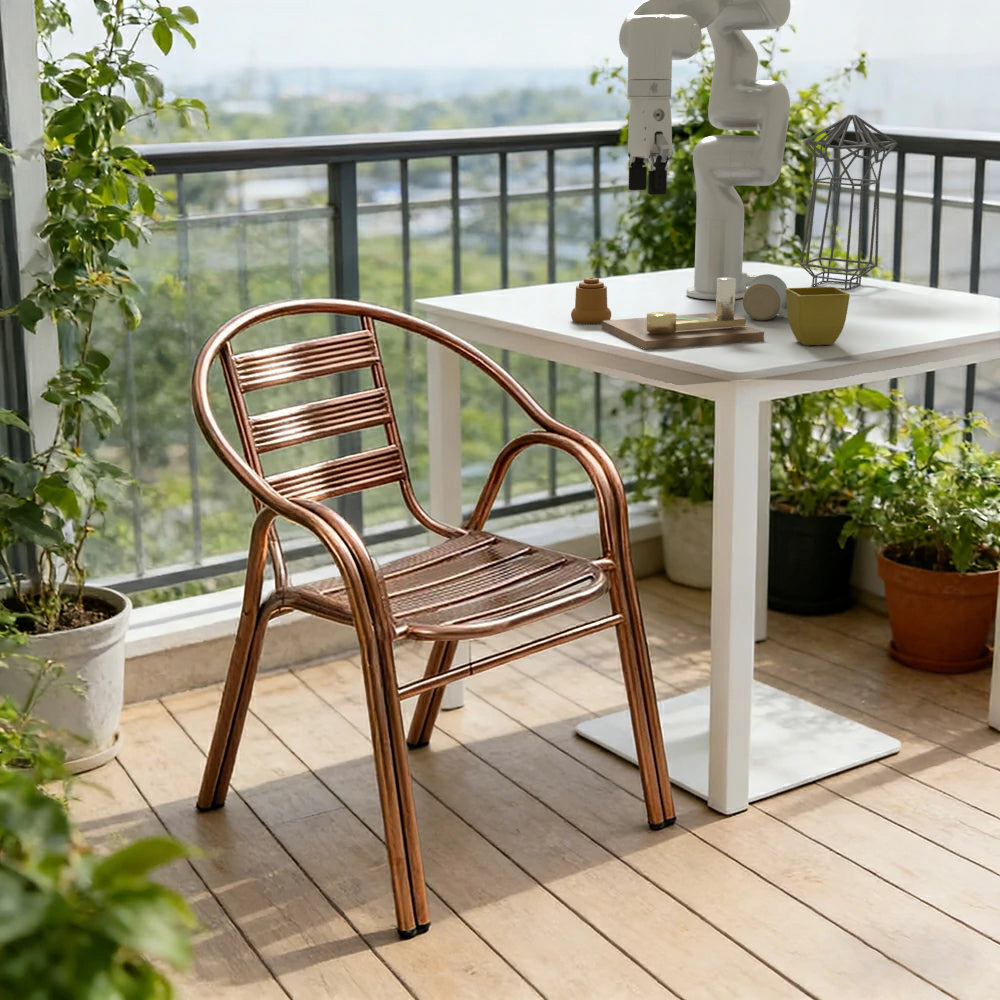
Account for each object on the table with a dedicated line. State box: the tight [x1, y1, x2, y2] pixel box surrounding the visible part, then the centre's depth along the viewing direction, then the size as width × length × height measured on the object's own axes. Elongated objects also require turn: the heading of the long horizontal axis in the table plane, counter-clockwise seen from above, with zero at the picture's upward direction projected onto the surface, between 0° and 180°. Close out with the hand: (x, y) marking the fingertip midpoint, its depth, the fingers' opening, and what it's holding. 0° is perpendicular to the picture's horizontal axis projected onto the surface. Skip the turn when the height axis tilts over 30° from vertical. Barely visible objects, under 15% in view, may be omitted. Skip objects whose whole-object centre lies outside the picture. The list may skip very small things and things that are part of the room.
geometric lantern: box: [799, 114, 898, 291], centre depth 292 cm, size 16×16×35 cm
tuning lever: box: [646, 277, 747, 334], centre depth 243 cm, size 18×5×8 cm, turn 107°
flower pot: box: [786, 286, 851, 347], centre depth 240 cm, size 9×9×9 cm
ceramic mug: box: [742, 273, 788, 322], centre depth 262 cm, size 11×8×8 cm
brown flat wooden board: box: [601, 312, 765, 350], centre depth 249 cm, size 22×20×2 cm
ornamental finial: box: [570, 277, 612, 325], centre depth 262 cm, size 8×8×8 cm
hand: (647, 192), depth 249 cm, fingers open, 9 cm apart
